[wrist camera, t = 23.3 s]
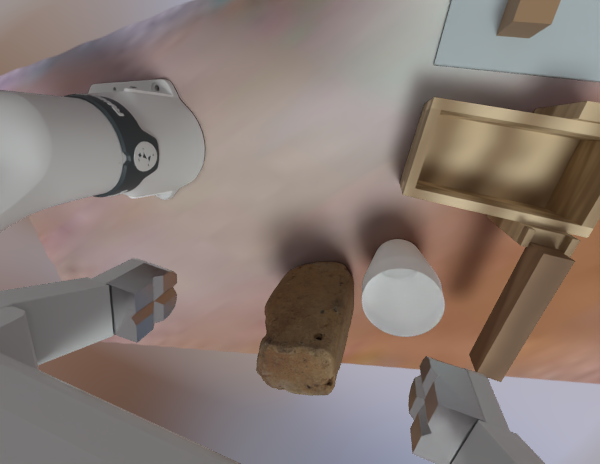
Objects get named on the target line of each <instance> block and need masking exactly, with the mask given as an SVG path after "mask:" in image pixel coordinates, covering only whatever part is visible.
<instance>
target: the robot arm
mask: <svg viewBox="0 0 600 464" xmlns="http://www.w3.org/2000/svg"><path fill="white" fill-rule="evenodd" d="M158 86H159V91H158ZM204 156H205V145H204V138H203V134H202V131H201V128H200V126H199V124H198V122H197V120H196V118H195V117H194V115H193V114H192V112H191V111H190V110H189V109H188V108H187V107H186V106H185V105H184V104H183V103H182V101H181V100H180V99H179V97H178V94H177V92H176V90H175V88H174V86H173V84H172V83H171V82H170V81H169V80H166V79H156V80H142V81H128V82H114V83H101V84H93V85H92V86H91V87H90V89H89V92H88V94H72V95H67V96H64V97H62V96H53V95H43V94H34V93H24V92H15V91H6V90H0V232H2V231H3V230H5V229H6V228H8V227H9V226H11V225H13V224H15V223H16V222H18V221H20V220H21V219H23V218H25V217H27V216H29V215H31V214H34V213H36V212H39V211H41V210H44V209H47V208H50V207H54V206H57V205H60V204H64V203H67V202H71V201H75V200H79V199H83V198H87V197H91V196H94V197H106V196H116V195H120V194H125V195H127V196H129V197H130V198H141V197H147V196H152V195H155V196H157V197H159V198H161V199H163V200H167V199H171V198H172V197H173V196H174V195H175V193H176V192H177V190H178V189H180V188H181V187H183V186H185V185H187V184H189V183H191V182H192V181H193V180H194V179H195V178H196V177H197V175H198V174H199V172H200V170H201V168H202V165H203V162H204ZM176 283H177V274H176V273H175V272H174V271H171V270H168V269H166V268H163V267H160V266H157V265H155V264H152V263H148V262H146V261H143V260H140V259H130V260H128V261H126V262H124V263H122V264H120V265H118V266H116V267H114V268H112V269H110V270H108V271H106V272H104V273H102V274H100V275H98V276H96V277H94V278H92V279H90V278H88V277H87V278H80V279H74V280H67V281H61V282H55V283H48V284H42V285H36V286H29V287H23V288H17V289H10V290H4V291H0V464H241V463H238V462H236V461H234V460H232V459H230V458H228V457H225V456H223V455H221V454H219V453H217V452H215V451H212V450H210V449H208V448H206V447H204V446H202V445H199V444H197V443H195V442H193V441H191V440H189V439H186V438H184V437H182V436H180V435H178V434H176V433H173V432H171V431H169V430H167V429H165V428H163V427H160V426H158V425H156V424H154V423H152V422H150V421H147V420H145V419H143V418H141V417H139V416H137V415H135V414H132V413H130V412H128V411H126V410H124V409H121V408H119V407H117V406H115V405H113V404H111V403H109V402H106V401H104V400H102V399H100V398H98V397H96V396H94V395H91V394H89V393H87V392H85V391H83V390H81V389H78V388H76V387H74V386H72V385H70V384H68V383H65V382H63V381H61V380H59V379H56V378H55V377H52V376H50V375H48V374H46V373H44V372H42V371H39V368H38V365H40V364H42V363H45V362H47V361H50V360H52V359H55V358H57V357H60V356H63V355H65V354H68V353H70V352H73V351H75V350H78V349H81V348H83V347H86V346H88V345H91V344H93V343H96V342H99V341H101V340H104V339H106V338H109V337H111V336H113V335H114V334H115V335H117V336H120V337H123V338H126V339H128V340H131V341H134V342H136V343H137V342H139V341H140V340H141V339H142V338H143V337H145V336H146V335H147V334H148V333H149V332H150V331H152V330H153V328H154V323H157V322H160V321H163V320H165V319H166V318H167V317H168V316H169V315H170V314H171V312H172V310H173V309H174V307H175V304H176V300H177V294H176V292H175V290H174V288H173V287H174V285H175V284H176ZM420 371H421V375H420V376H418V377H416V378H415V379H414V381H413V383H412V386H411V389H410V394H409V414H410V415H411V417H412V418H413V419H414V422H413V424H412V426H411V428H410V429H411V441H412V452H413V454H414V455H417V456H419V457H421V458H424V459H426V460H428V461H431V462H433V463H435V464H545V463H544V462H543V461H542V460H541V459H540V458H539V457H538V456H537V455H536V454H535V453H534V451H533V450H532V449H531V448H530V447H529V446H528V445H527V444H526V443H525V442H524V441H523V440H522V439H521V438H520V437H519V436H518V435H517V434H516V433H513V432H510V430H509V428H508V425H507V423H506V421H505V418H504V416H503V413H502V411H501V409H500V407H499V404H498V402H497V399H496V397H495V394H494V392H493V390H492V387H491V385H490V382H489V380H488V378H487V377H486V376H485V375H484V374H481V373H478V372H475V371H472V370H468V369H465V368H464V369H463V368H460V367H457V366H454V365H451V364H448V363H445V362H442V361H439V360H436V359H433V358H430V357H427V356H426V357H425V358H424V359H423V361H422V363H421V365H420Z"/></svg>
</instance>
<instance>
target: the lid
mask: <svg viewBox="0 0 600 464" xmlns="http://www.w3.org/2000/svg"><path fill="white" fill-rule="evenodd" d="M434 65H436V66H446V67H455V68H465V69H475V70H484V71H494V72H504V73H514V74H523V75H533V76H543V77H553V78H562V79H572V80H582V81H592V82H600V0H451V4H450V8H449V11H448V15H447V18H446V22H445V26H444V29H443V33H442V37H441V40H440V44H439V47H438V51H437V55H436V58H435V62H434Z"/></svg>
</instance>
